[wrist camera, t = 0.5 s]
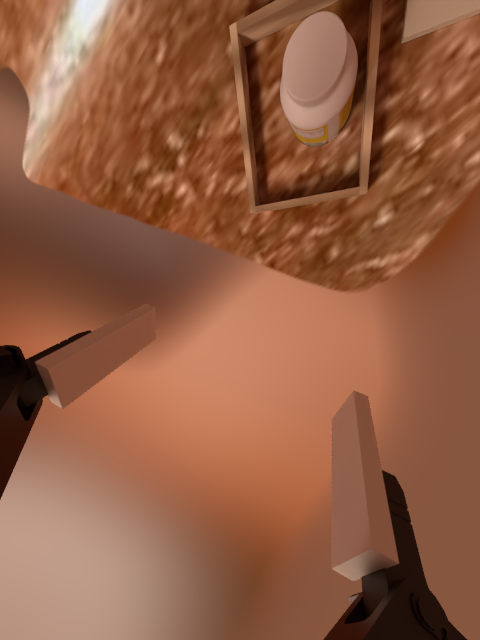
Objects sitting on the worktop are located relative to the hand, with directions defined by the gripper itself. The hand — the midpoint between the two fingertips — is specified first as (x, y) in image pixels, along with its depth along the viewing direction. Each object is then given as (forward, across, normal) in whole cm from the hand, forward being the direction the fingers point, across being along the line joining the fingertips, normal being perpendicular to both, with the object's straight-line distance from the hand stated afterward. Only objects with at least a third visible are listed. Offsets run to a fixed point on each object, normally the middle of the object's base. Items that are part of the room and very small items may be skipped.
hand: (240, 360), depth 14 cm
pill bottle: (+26, -3, +18) cm, 31 cm away
